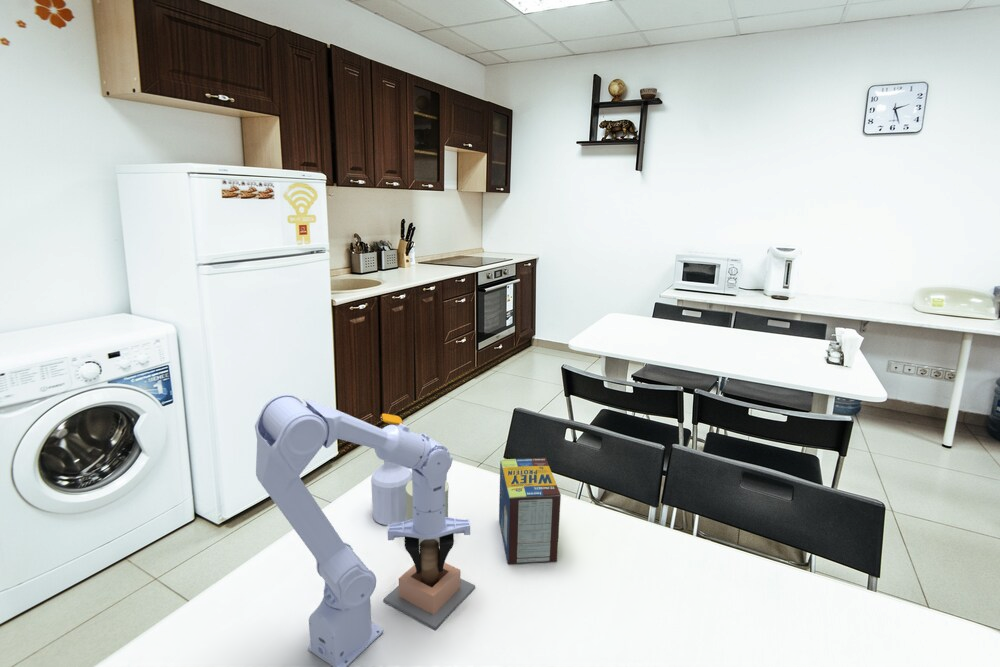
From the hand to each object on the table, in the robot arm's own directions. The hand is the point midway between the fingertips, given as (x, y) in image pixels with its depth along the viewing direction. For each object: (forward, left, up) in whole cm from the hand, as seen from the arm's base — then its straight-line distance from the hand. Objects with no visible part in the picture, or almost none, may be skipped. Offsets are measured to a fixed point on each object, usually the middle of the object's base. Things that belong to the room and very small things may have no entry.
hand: (429, 568), depth 98 cm
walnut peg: (0, 0, -3) cm, 3 cm away
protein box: (+24, -7, -6) cm, 26 cm away
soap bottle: (+15, +23, -6) cm, 28 cm away
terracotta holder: (0, 0, -6) cm, 6 cm away
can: (+14, +12, -6) cm, 19 cm away
